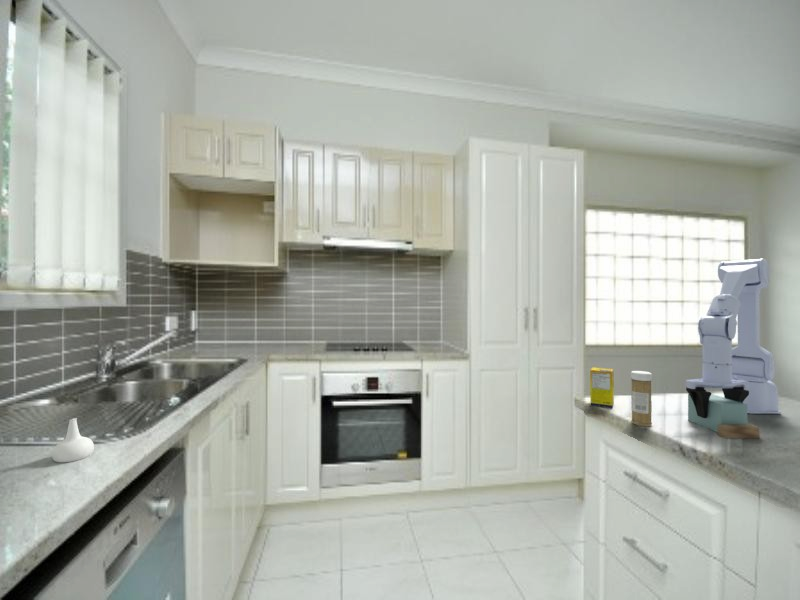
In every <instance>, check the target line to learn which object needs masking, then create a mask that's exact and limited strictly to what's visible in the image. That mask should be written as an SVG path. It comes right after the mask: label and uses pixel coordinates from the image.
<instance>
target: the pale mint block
mask: <svg viewBox="0 0 800 600" xmlns="http://www.w3.org/2000/svg"><path fill="white" fill-rule="evenodd" d="M687 398H688V399H687V420H688V421H689V422H693V423H694V424H697V425H700V426H702V427H705V428H707V429H709V430H712V431H714V432H717V433H718V424H748V413H747V404H744V403H741V402H737V401H734V400H730V399H727V398H725V397H724V396H720V395H716V394H713V393H712V394H711V396H710V398H709V402H708V413H707V418H702V417H699V416H697V412H696V409H695V406H694V403H693V401H692V399H691V397H690V395H689V393H687Z"/></svg>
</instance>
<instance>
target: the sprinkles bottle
mask: <svg viewBox="0 0 800 600" xmlns="http://www.w3.org/2000/svg"><path fill="white" fill-rule="evenodd" d="M630 380H631V390H630V393H631V399H630V400H631V401H630V404H631V406H630V407H631V421H630V422H631V423H632V424H633V425H636V426H639V427H651V426H652V425H653V422H652V410H653V405H652V380H653V373H651V372H650V371H644V370H632V371H630Z"/></svg>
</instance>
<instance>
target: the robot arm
mask: <svg viewBox="0 0 800 600" xmlns="http://www.w3.org/2000/svg"><path fill="white" fill-rule="evenodd" d="M717 277H718V279H719V281H720V283H721V284H722V285H721V288H720V294H718V295H716V296H714V298H713V299H712V301H711V303H710V306H709V308H708V310H707V313H706V315H704V316H703V317H700V318H699V320H698V326H697V331H698V335H699V342H700V345H701V346H702V349H701V351H702V358H701V359H702V361H701V362H702V366H701V368H702V370H701V372H702V374H701V375H702V377H701V378H694V379H686V380H685V390H686V392H687V394H689V395H690V397H691V399H692V401H693V403H694V406H695V409H696V412H697V416H699V417H702V418H707V413H708V402H709V398H710V396H711V394H713V393H712V392H710V391H707V390H706V389H721V390H722V393H723V397H724V398H727V399H730V400H734V401H737V402H741V403H744V404H747V414H754V415H755V414H759V415H760V414H782V412H781V411H779V390H778V387H777V385H776V384H775V382H773V381H772V380H773V379H774V378H775V373H776V364H775V361H774V355H773V353H772V352H771V351H769V350H767V349H766V348H764V347H763V346H761V343H760V342H761V341H760V340H761V339H760V337H761V336H760V331H761V330H760V294H761V292H762V291H761V290H762V289H766V288H768V287H769V284H770V267H769V262H768V261H767V259H765V258H763V257H761V258H756V259H755V258H754V259H741V260H729V261H728V260H727V261H726V260H722V261H721V262H719V264H718V268H717ZM736 334H737V345H736V346H734V347H733V339H734V338H735V336H736Z"/></svg>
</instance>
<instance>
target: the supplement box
mask: <svg viewBox="0 0 800 600" xmlns="http://www.w3.org/2000/svg"><path fill="white" fill-rule="evenodd" d="M589 373H590V375H589V377H590V379H589V380H590V384H589V385H590V387H589V389H590V391H589V392H590V394H589V395H590V406H595V407H601V408H610V409H613V408H614V405H615V404H614V401H615V400H614V399H615V393H614V390H615V386H614V378H615V377H614V368H605V367H595V366H592V368H590V371H589Z"/></svg>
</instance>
